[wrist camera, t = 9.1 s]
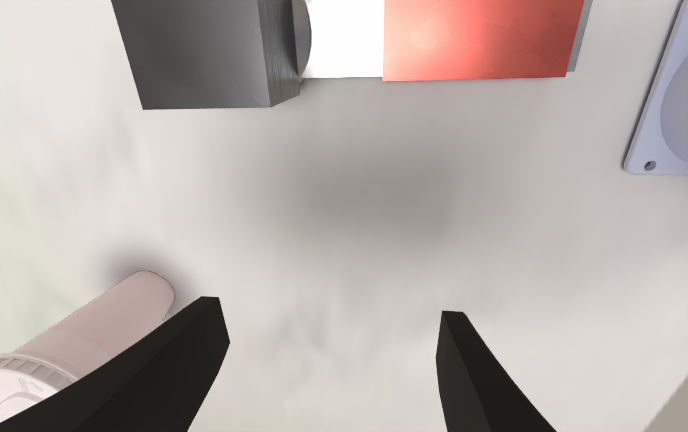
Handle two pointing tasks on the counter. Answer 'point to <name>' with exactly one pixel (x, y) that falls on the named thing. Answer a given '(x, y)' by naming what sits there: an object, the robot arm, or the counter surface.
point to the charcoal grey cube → (210, 52)
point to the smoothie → (82, 341)
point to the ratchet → (438, 38)
